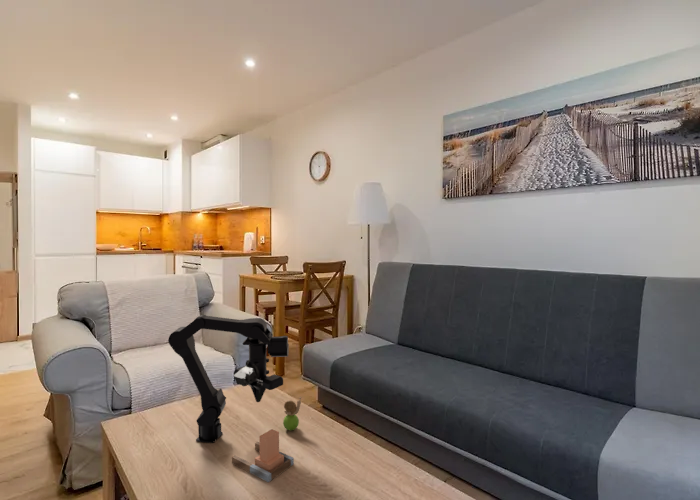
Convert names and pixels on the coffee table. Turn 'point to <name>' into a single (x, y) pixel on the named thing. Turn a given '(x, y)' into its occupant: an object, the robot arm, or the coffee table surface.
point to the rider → (269, 451)
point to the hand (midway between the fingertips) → (258, 401)
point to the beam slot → (259, 471)
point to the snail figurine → (291, 415)
